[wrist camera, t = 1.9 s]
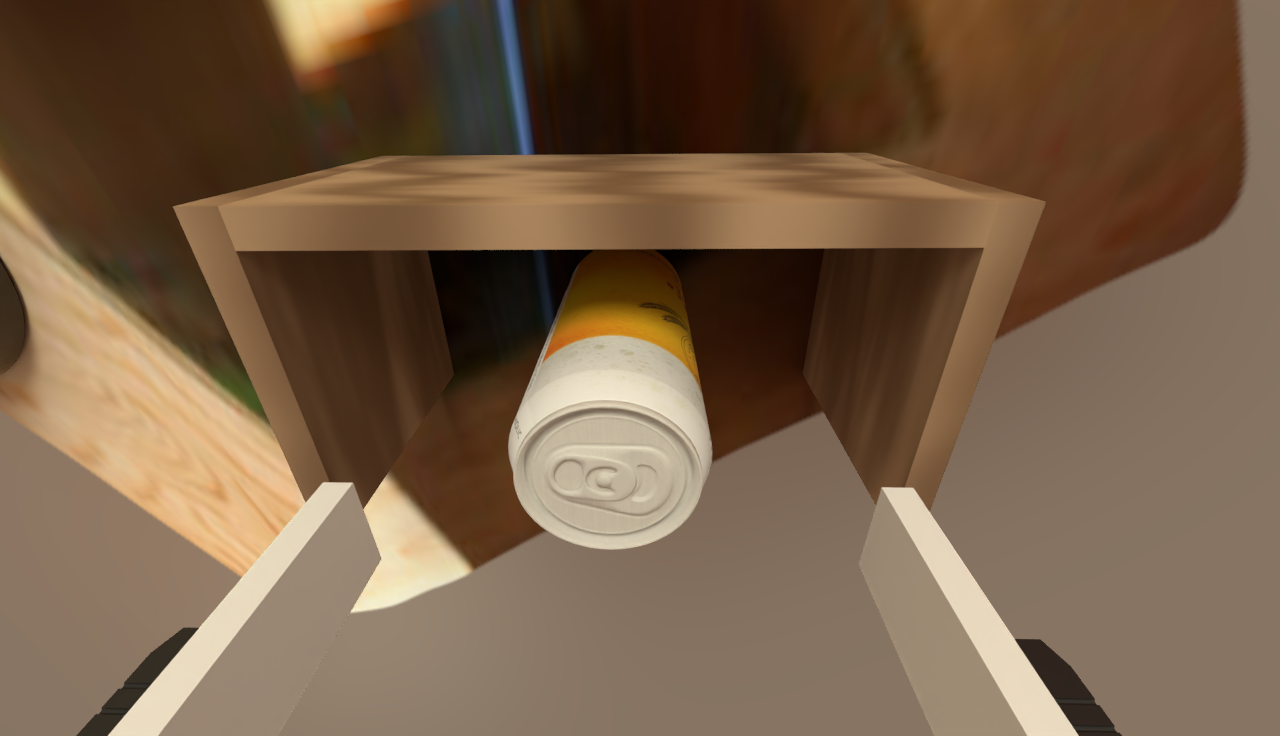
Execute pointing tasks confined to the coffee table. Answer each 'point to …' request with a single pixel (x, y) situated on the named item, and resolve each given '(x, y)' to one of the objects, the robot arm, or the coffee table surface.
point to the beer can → (614, 409)
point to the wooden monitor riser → (608, 219)
